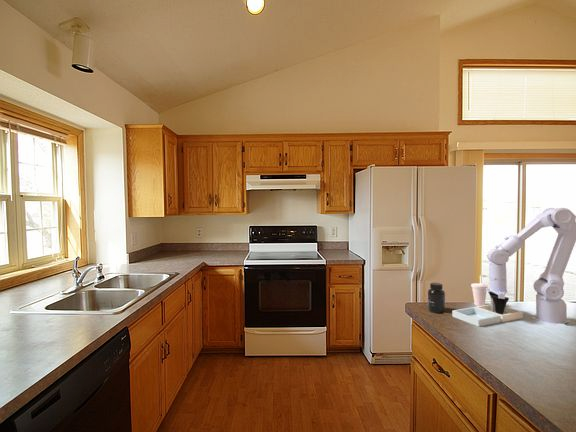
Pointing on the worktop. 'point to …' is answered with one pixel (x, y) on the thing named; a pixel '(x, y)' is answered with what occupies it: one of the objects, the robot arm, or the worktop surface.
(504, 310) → the stone block
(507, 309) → the bin
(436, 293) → the supplement bottle
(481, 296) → the smoothie
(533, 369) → the worktop surface
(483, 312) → the bin
